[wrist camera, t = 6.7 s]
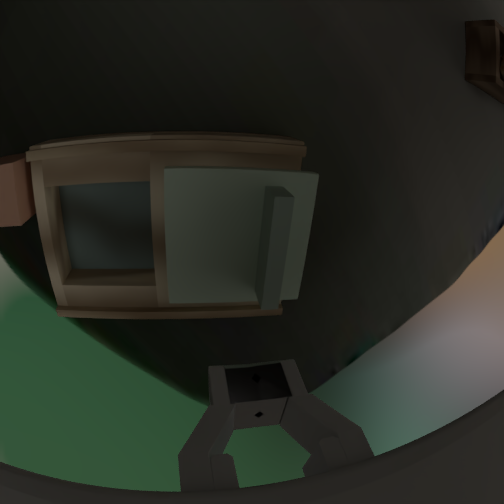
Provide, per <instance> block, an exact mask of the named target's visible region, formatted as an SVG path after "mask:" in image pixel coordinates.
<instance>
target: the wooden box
mask: <svg viewBox="0 0 504 504" xmlns="http://www.w3.org/2000/svg"><path fill="white" fill-rule="evenodd" d="M306 149H307V147H306V146H304V142H303V141H300V140H297V139H295V138H292V137H289V136H279V135H267V134H253V133H237V132H212V131H152V132H128V133H112V134H99V135H88V136H78V137H69V138H61V139H54V140H49V141H45V142H42V143H39V144H36V145H33V146H31V147H30V150H29V151H27V152H26V162H29V161H30V162H31V174H32V183H33V192H34V200H35V207H36V213H37V219H38V225H39V231H40V236H41V241H42V246H43V250H44V255H45V259H46V263H47V267H48V271H49V275H50V279H51V283H52V286H53V290H54V293H55V297H56V300H57V303H58V307H57V309H56V311H57V314H58V316H61V317H82V318H112V319H195V318H228V317H250V316H268V315H282V310H283V307H282V305H281V300H279V306H278V309H271V310H261V308H260V305H259V302H258V301H248V302H220V303H169V292H168V279H167V263H166V243H165V214H164V168H165V166H223V167H251V168H270V169H286V170H300V171H301V164H302V157H306Z"/></svg>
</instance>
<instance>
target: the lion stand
mask: <svg viewBox="0 0 504 504" xmlns="http://www.w3.org/2000/svg"><path fill="white" fill-rule="evenodd" d="M465 27H466V68H465V80H466V81H468V82H470V83H472V84H473V85H475V86H477V87H478V88H480V89H481V90H483V91H485V92H486V93H488V94H489V95H491V96H492V97H494V98H495V99H497V100H498V101H500V102H501V103H503V104H504V81H502V80H501V79H500V54H501V55H503V54H504V28H503V27H502V26H501V25H500V24H499V23H498V22H497V21H495V20H479V21H466V22H465Z"/></svg>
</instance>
